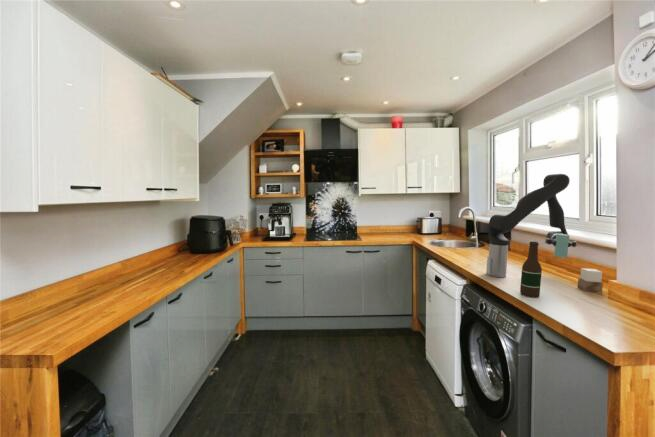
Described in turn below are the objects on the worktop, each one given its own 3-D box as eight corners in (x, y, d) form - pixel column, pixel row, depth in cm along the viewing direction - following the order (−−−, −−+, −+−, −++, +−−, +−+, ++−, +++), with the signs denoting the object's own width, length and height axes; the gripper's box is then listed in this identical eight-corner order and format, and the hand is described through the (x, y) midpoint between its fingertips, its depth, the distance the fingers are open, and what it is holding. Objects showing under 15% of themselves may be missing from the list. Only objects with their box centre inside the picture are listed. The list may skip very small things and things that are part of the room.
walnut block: (585, 291, 161) (586, 281, 161) (577, 287, 168) (578, 277, 168) (601, 293, 160) (602, 282, 160) (593, 288, 167) (594, 278, 166)
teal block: (554, 256, 168) (556, 234, 167) (554, 255, 172) (556, 233, 171) (566, 258, 165) (569, 235, 164) (566, 256, 170) (568, 234, 169)
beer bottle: (543, 298, 148) (548, 243, 146) (525, 297, 149) (530, 243, 146) (533, 292, 156) (537, 241, 154) (516, 292, 156) (520, 240, 154)
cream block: (586, 281, 161) (587, 270, 161) (580, 278, 167) (581, 268, 167) (601, 282, 160) (602, 271, 160) (594, 279, 166) (595, 269, 165)
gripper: (544, 232, 184) (545, 234, 169) (577, 234, 176) (581, 238, 162) (543, 245, 184) (544, 249, 170) (575, 249, 177) (579, 253, 163)
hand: (562, 244), depth 166 cm, fingers closed on teal block, 5 cm apart
